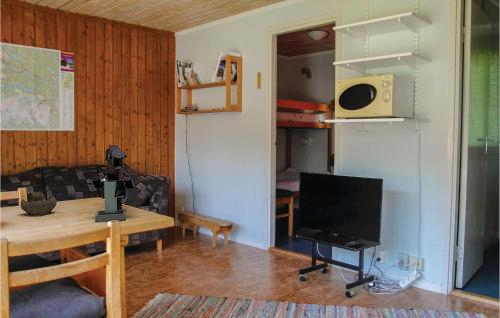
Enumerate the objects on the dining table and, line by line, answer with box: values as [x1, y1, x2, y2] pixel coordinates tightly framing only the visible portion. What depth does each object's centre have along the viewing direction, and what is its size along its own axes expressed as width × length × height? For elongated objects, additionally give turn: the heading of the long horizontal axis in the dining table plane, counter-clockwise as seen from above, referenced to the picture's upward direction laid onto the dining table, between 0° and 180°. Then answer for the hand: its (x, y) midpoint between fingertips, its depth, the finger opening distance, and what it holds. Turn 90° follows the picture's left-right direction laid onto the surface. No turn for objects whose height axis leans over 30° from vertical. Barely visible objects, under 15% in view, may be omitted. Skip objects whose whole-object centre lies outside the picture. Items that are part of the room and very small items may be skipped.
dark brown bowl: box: [19, 191, 57, 217], centre depth 212 cm, size 16×11×15 cm
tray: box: [94, 209, 126, 223], centre depth 200 cm, size 13×13×3 cm
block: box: [103, 181, 118, 213], centre depth 199 cm, size 4×4×14 cm
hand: (109, 197), depth 198 cm, fingers closed on block, 4 cm apart
